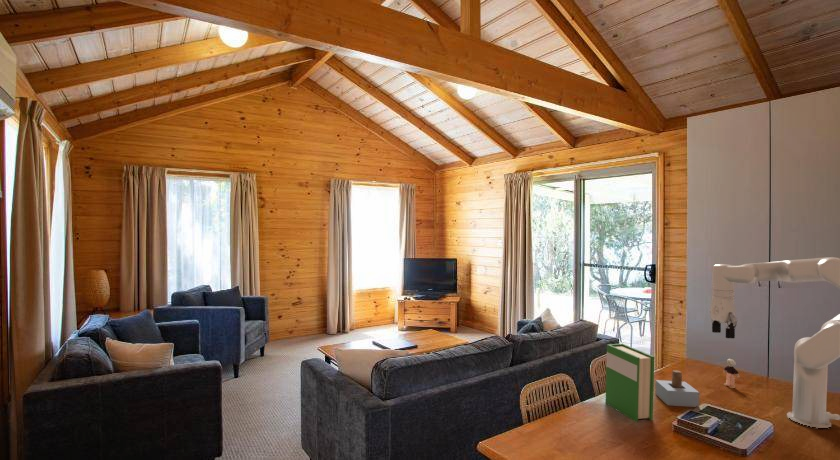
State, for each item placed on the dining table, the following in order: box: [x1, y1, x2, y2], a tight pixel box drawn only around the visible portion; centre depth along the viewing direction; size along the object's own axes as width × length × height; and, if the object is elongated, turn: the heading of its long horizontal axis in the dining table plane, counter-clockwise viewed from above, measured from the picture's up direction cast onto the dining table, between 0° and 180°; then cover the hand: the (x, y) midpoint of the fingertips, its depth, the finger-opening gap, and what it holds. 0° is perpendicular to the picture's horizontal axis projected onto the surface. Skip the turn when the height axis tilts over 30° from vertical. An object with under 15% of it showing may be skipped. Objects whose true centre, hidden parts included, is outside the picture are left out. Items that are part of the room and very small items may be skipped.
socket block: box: [654, 379, 700, 408], centre depth 186 cm, size 12×12×6 cm
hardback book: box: [605, 343, 655, 423], centre depth 175 cm, size 18×7×24 cm, turn 13°
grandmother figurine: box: [722, 358, 740, 389], centre depth 202 cm, size 8×4×13 cm, turn 25°
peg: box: [671, 369, 683, 388], centre depth 186 cm, size 4×4×12 cm
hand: (723, 335), depth 185 cm, fingers open, 9 cm apart
